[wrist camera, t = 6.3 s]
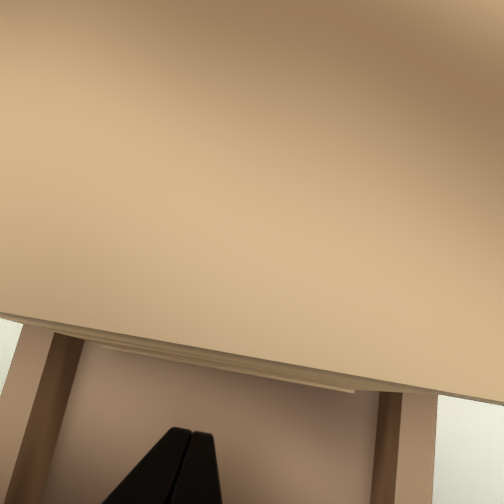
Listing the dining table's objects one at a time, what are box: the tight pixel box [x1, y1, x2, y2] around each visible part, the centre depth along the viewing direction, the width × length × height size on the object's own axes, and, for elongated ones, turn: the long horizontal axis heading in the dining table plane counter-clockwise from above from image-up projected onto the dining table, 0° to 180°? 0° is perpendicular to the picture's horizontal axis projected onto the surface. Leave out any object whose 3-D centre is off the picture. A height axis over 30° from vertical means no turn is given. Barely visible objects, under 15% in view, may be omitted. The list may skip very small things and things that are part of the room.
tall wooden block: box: [0, 0, 504, 406], centre depth 11 cm, size 8×8×11 cm
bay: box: [0, 324, 438, 504], centre depth 13 cm, size 20×13×7 cm, turn 170°
